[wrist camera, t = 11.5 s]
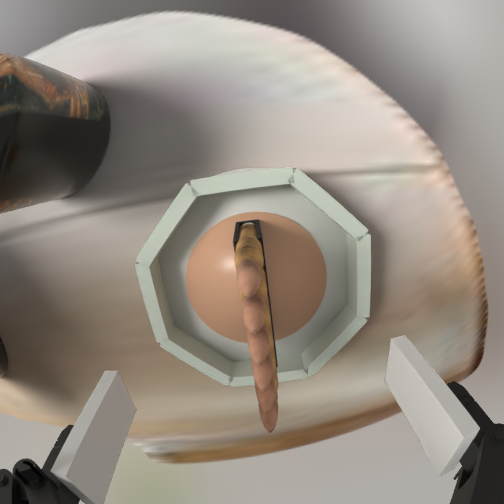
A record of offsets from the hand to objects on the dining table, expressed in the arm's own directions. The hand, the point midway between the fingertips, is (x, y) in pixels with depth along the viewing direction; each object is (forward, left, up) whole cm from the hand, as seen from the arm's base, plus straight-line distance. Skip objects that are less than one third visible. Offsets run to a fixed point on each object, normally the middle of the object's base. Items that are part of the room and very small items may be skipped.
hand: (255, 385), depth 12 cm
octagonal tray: (0, 0, -14) cm, 14 cm away
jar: (-17, +16, -15) cm, 27 cm away
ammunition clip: (0, 0, -13) cm, 13 cm away
